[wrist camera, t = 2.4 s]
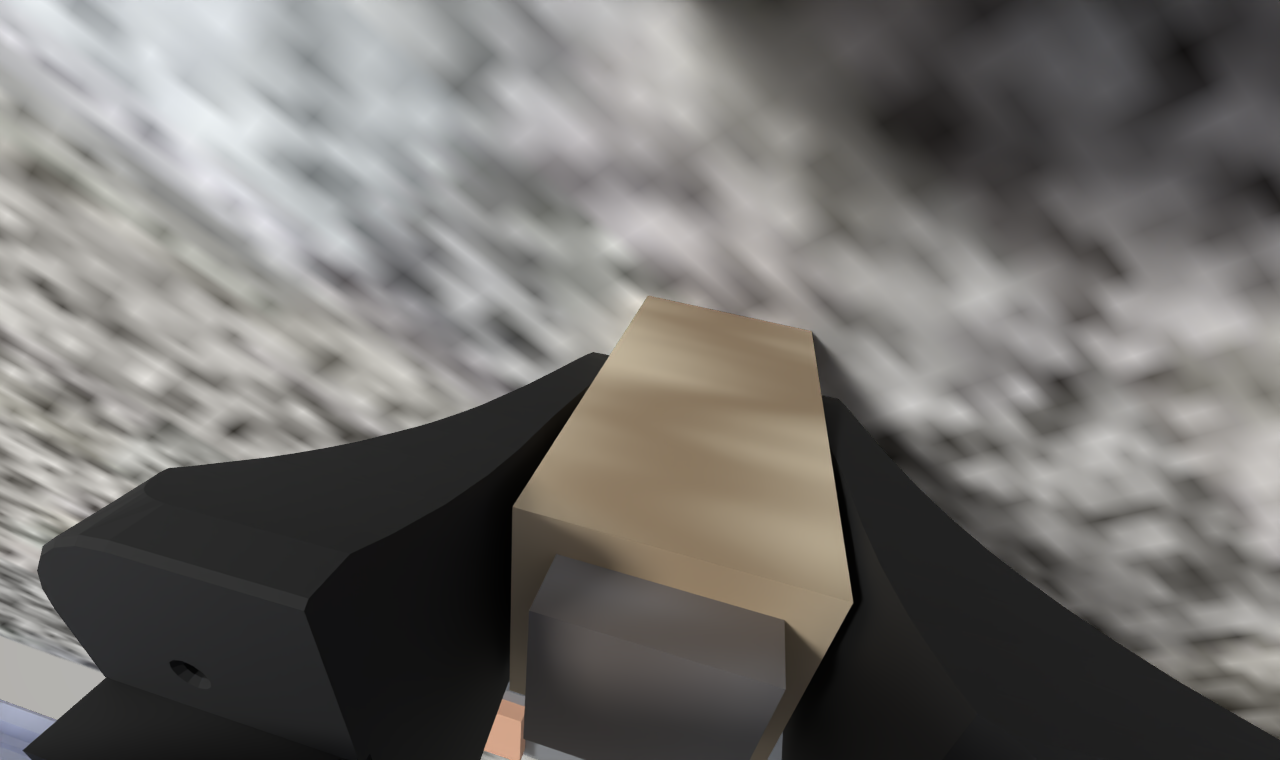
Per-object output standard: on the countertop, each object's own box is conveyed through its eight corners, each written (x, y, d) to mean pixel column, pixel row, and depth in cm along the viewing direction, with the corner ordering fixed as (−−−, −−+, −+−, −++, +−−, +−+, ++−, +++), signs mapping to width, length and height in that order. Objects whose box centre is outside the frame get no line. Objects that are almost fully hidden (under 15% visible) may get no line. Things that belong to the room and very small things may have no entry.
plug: (811, 331, 10) (864, 674, 4) (767, 461, 12) (758, 841, 6) (648, 295, 11) (478, 560, 5) (627, 426, 12) (484, 745, 6)
